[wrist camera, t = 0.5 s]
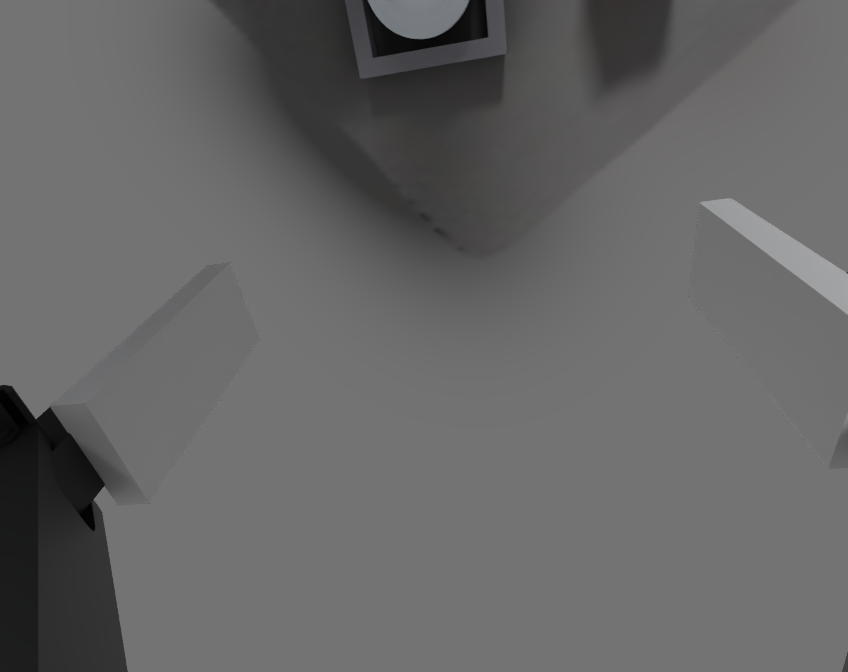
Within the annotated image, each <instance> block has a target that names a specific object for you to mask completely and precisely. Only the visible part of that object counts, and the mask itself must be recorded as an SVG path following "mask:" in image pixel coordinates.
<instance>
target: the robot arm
mask: <svg viewBox="0 0 848 672" xmlns="http://www.w3.org/2000/svg"><path fill="white" fill-rule="evenodd" d="M688 297H689V299H690V300H691V301H692V302H693V303H694V305H695V306H696V307H697V308H698V310H699V311H700V312H701V313H702V315H703V316H704V317H705V318H706V319H707V320H708V322H709V323H710V324H711V326H712V327H713V328H714V329H715V330H716V332H717V333H718V334H719V335H720V337H721V338H722V339H723V340H724V342H725V343H726V344H727V345H728V346H729V348H730V349H731V350H732V351H733V353H734V354H735V355H736V356H737V358H738V359H739V360H740V361H741V363H742V364H743V365H744V366H745V367H746V369H747V370H748V371H749V372H750V374H751V375H752V376H753V377H754V378H755V380H756V381H757V382H758V383H759V385H760V386H761V387H762V388H763V390H764V391H765V392H766V393H767V394H768V396H769V397H770V398H771V399H772V400H773V402H774V403H775V404H776V406H777V407H778V408H779V409H780V411H781V412H782V413H783V414H784V415H785V417H786V418H787V419H788V420H789V422H790V423H791V424H792V425H793V426H794V427H795V429H796V430H797V431H798V433H799V434H800V435H801V436H802V438H803V439H804V440H805V441H806V442H807V444H808V445H809V446H810V447H811V449H812V450H813V451H814V452H815V454H816V455H817V456H818V457H819V459H820V460H821V461H822V462H823V463H824V465H825V466H826V467H827V468H828V469H839V468H848V272H844V271H842V270H841V269H839V268H838V267H836V266H834V265H833V264H832V263H830V262H829V261H827V260H825V259H824V258H822V257H821V256H819V255H818V254H816V253H815V252H813V251H812V250H810V249H809V248H807V247H805V246H804V245H802V244H801V243H799V242H798V241H796V240H795V239H793V238H792V237H790V236H788V235H787V234H785V233H784V232H782V231H781V230H779V229H778V228H776V227H775V226H773V225H771V224H770V223H768V222H767V221H765V220H764V219H762V218H761V217H759V216H758V215H756V214H754V213H753V212H751V211H750V210H748V209H747V208H745V207H744V206H742V205H741V204H739V203H738V202H736V201H734V200H733V199H731V198H729V199H721V200H713V201H705V202H699V207H698V216H697V224H696V233H695V241H694V251H693V258H692V267H691V275H690V284H689V293H688ZM259 342H260V338H259V335H258V333H257V330H256V327H255V325H254V322H253V319H252V317H251V314H250V312H249V309H248V306H247V304H246V301H245V299H244V296H243V293H242V291H241V288H240V286H239V283H238V280H237V278H236V275H235V272H234V270H233V267H232V265H231V262H229V263H222V264H214V265H207V266H206V267H205V268H204V269H202V270H201V271H200V272H199V273H198V274H197V275H196V276H195V277H193V278H192V279H191V280H190V281H189V282H188V283H187V284H186V285H185V286H184V287H182V288H181V289H180V290H179V291H178V292H177V293H176V294H175V295H173V296H172V297H171V298H170V299H169V300H168V301H167V302H165V304H163V305H162V306H161V307H160V308H159V309H158V310H157V311H155V312H154V313H153V314H152V315H151V316H150V317H149V318H148V319H147V320H145V321H144V322H143V323H142V324H141V325H140V326H139V327H137V328H136V329H135V330H134V331H133V332H132V333H131V334H130V335H129V336H127V337H126V338H125V339H124V340H123V341H122V342H121V343H120V344H119V345H117V346H116V347H115V348H114V349H113V350H112V351H111V352H109V353H108V354H107V355H106V356H105V357H104V358H103V359H102V360H101V361H99V362H98V363H97V364H96V365H95V366H94V367H93V368H92V369H91V370H89V371H88V372H87V373H86V374H85V375H84V376H83V377H81V378H80V379H79V380H78V381H77V382H76V383H75V384H74V385H73V386H72V387H70V388H69V389H68V390H67V391H66V392H65V393H64V394H63V395H61V396H60V397H59V398H58V399H57V400H56V401H55V402H53V403H52V404H51V405H50V407H49V408H48V409H47V410H46V411H45V412H44V413H43V414H42V415H41V416H39V417H38V418H37V419H35V418H34V416H33V415H32V413H31V412H30V411H29V409H28V408H27V406H26V405H25V404H24V402H23V401H22V400H21V398H20V397H19V395H18V394H17V393H16V391H15V390H14V388H13V387H12V386H7V385H1V386H0V672H128V671H127V666H126V659H125V653H124V647H123V640H122V634H121V627H120V621H119V615H118V609H117V602H116V597H115V590H114V584H113V578H112V571H111V565H110V559H109V553H108V546H107V541H106V534H105V528H104V522H103V515H102V511H101V510H100V508H99V507H98V505H97V504H96V502H95V501H94V500H93V499H94V498H95V497H96V496H97V494H98V493H99V492H100V491H101V489H102V488H103V487H104V486H105V487H106V488H107V490H108V492H109V493H110V495H111V496H112V497H113V499H114V500H115V502H116V503H117V505H133V504H150V503H151V501H152V500H153V498H154V497H155V495H156V494H157V492H158V491H159V489H160V488H161V486H162V485H163V483H164V482H165V480H166V479H167V478H168V476H169V475H170V473H171V471H172V470H173V469H174V467H175V466H176V464H177V463H178V461H179V460H180V458H181V457H182V455H183V454H184V452H185V451H186V450H187V448H188V447H189V445H190V444H191V442H192V441H193V439H194V438H195V436H196V435H197V433H198V432H199V430H200V429H201V427H202V426H203V424H204V423H205V421H206V420H207V418H208V417H209V416H210V414H211V412H212V411H213V410H214V408H215V407H216V405H217V404H218V402H219V401H220V399H221V398H222V396H223V395H224V393H225V392H226V391H227V389H228V388H229V386H230V385H231V383H232V382H233V380H234V379H235V377H236V376H237V374H238V373H239V371H240V370H241V368H242V367H243V365H244V364H245V362H246V361H247V359H248V358H249V357H250V355H251V353H252V352H253V351H254V349H255V348H256V346H257V345H258V343H259ZM842 672H848V653H847V657H846V660H845V664H844V667H843V671H842Z"/></svg>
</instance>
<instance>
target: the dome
mask: <svg viewBox="0 0 848 672" xmlns="http://www.w3.org/2000/svg"><path fill="white" fill-rule="evenodd" d="M368 2H369V4H370V6H371V8H372V10H373V12H374V13H375V15H376V16H377V17H378V19H379V20H380V21H381V22H382V23H383V24H384V25H385V26H386V27H387V28H389V29H390V30H391V31H393V32H395V33H396V34H398V35H401V36H403V37H407V38H412V39H429V38H433V37H437V36H439V35H442V34H443V33H445V32H447V31H448V30H450V29H451V28H452V27H453V26H454V25H455V24H456V23H457V22H458V21H459V20H460V18H461V17H462V16H463V14H464V12H465V10H466V9H467V6H468V4H469V2H470V0H368Z"/></svg>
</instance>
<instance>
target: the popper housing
mask: <svg viewBox="0 0 848 672" xmlns="http://www.w3.org/2000/svg"><path fill="white" fill-rule="evenodd" d="M345 4H346V9H347V14H348V19H349V24H350V29H351V34H352V40H353V45H354V50H355V55H356V60H357V65H358V70H359V76H360V79H364V78H370V77H376V76H382V75H388V74H393V73H399V72H405V71H411V70H416V69H422V68H428V67H434V66H440V65H445V64H451V63H457V62H463V61H468V60H474V59H480V58H486V57H491V56H497V55H503V54H507V45H506V29H505V14H504V0H485V11H486V23H487V36H488V38H482V39H477V40H471V41H465V42H460V43H454V44H449V45H443V46H438V47H432V48H426V49H421V50H415V51H410V52H404V53H398V54H393V55H387V56H382V57H378V55H377V49H376V44H375V38H374V32H373V27H372V21H371V15H370V9H369V4H368V0H345Z"/></svg>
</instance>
